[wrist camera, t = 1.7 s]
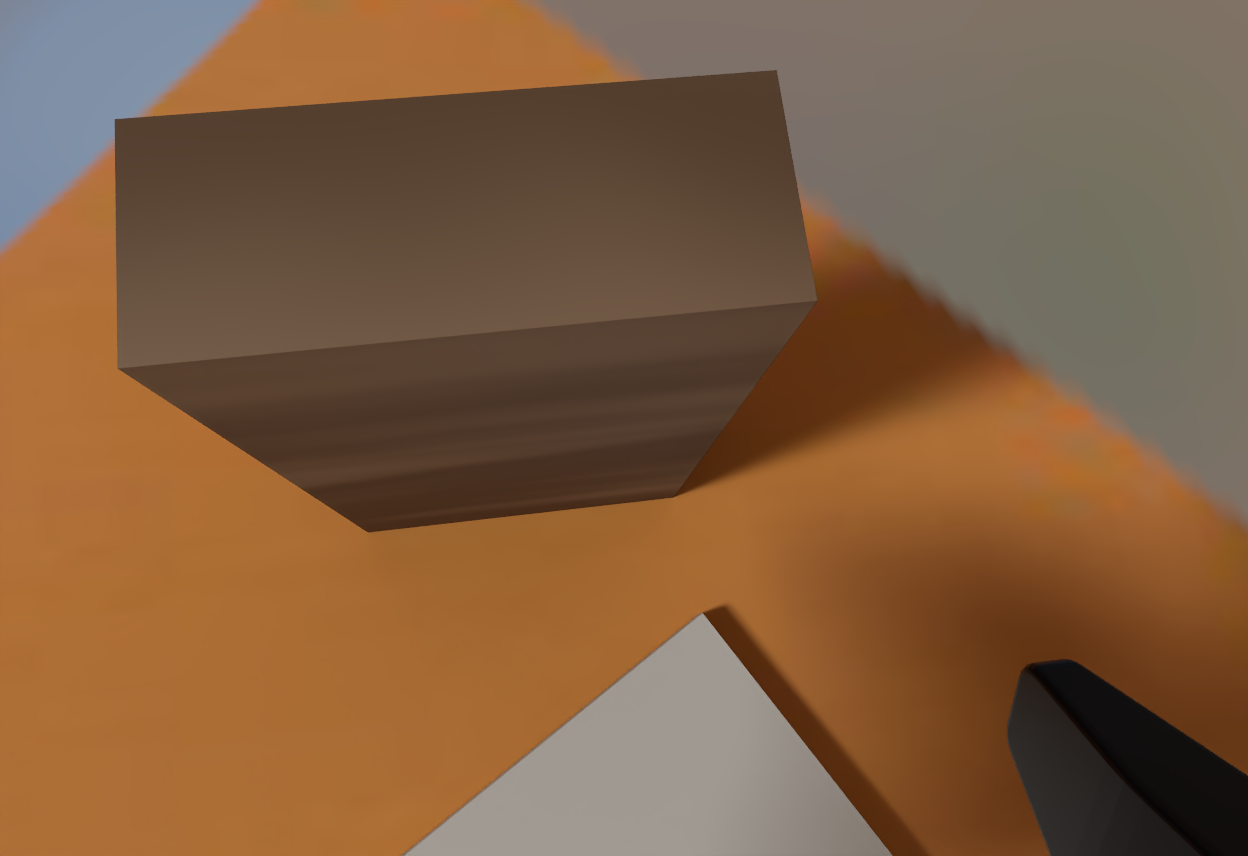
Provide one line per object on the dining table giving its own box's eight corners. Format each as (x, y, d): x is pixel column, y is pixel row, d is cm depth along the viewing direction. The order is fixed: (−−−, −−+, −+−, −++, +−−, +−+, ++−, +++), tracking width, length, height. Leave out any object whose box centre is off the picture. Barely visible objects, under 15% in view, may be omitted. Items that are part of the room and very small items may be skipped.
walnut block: (673, 497, 21) (817, 300, 9) (367, 532, 20) (118, 368, 9) (658, 386, 22) (777, 70, 10) (360, 417, 21) (114, 120, 9)
